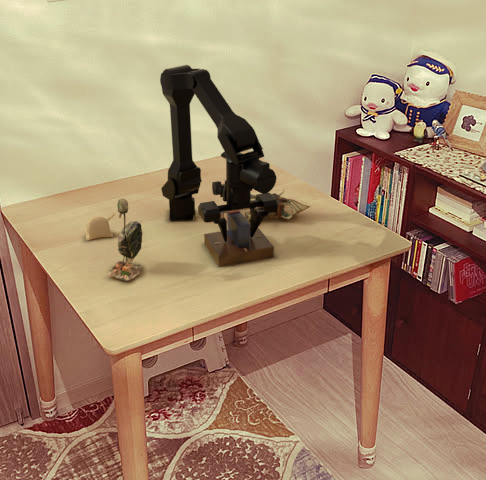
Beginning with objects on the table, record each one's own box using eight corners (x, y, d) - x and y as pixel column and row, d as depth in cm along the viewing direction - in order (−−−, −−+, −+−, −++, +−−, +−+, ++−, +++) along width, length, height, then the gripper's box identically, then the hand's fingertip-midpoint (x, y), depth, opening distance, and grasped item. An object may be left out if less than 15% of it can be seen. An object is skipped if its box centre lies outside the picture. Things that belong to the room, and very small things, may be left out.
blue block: (249, 246, 173) (249, 222, 170) (237, 248, 173) (238, 224, 169) (238, 232, 180) (238, 209, 176) (227, 233, 179) (227, 211, 176)
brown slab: (219, 267, 171) (218, 255, 170) (204, 244, 181) (204, 233, 179) (273, 257, 175) (274, 246, 173) (256, 235, 184) (256, 224, 183)
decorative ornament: (84, 234, 187) (81, 215, 184) (116, 229, 189) (114, 211, 186) (86, 241, 184) (84, 222, 181) (118, 236, 186) (116, 217, 183)
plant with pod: (156, 266, 173) (150, 188, 161) (124, 286, 165) (117, 206, 154) (130, 256, 177) (123, 180, 165) (98, 276, 169) (89, 198, 158)
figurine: (252, 180, 201) (313, 185, 198) (251, 201, 204) (311, 205, 201) (241, 206, 184) (307, 211, 181) (240, 228, 187) (305, 234, 184)
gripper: (263, 162, 176) (262, 219, 185) (190, 172, 172) (192, 230, 180) (280, 179, 167) (278, 238, 176) (204, 190, 163) (205, 250, 171)
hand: (238, 239), depth 176 cm, fingers open, 6 cm apart
